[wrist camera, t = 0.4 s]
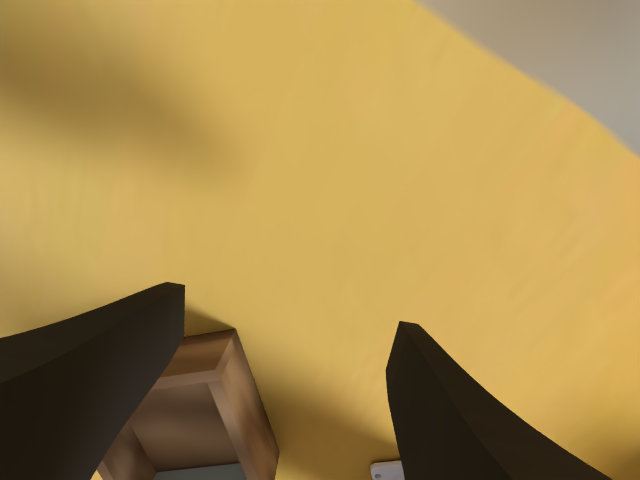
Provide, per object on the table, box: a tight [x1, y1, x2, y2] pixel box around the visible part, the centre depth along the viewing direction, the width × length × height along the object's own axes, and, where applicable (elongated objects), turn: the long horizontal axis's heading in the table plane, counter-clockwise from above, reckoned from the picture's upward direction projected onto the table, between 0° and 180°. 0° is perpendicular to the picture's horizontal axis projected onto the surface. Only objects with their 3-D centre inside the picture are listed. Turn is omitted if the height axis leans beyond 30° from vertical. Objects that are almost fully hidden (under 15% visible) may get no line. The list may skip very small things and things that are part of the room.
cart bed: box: [97, 329, 279, 480], centre depth 23 cm, size 12×11×4 cm
